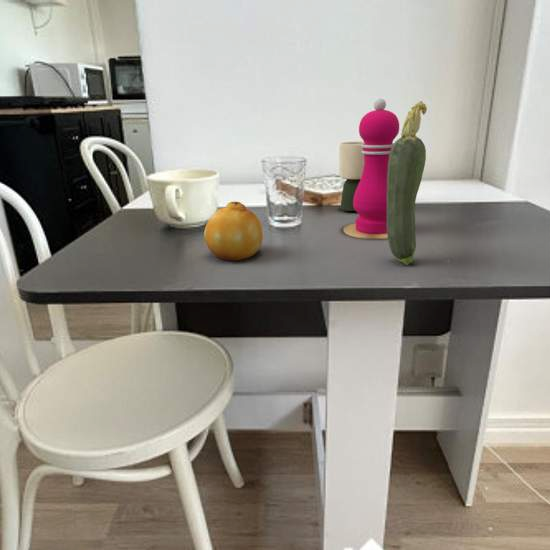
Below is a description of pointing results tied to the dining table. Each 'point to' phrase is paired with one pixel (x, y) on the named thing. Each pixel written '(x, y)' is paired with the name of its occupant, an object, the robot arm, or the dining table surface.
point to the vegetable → (405, 186)
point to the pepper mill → (375, 168)
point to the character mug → (350, 171)
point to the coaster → (353, 232)
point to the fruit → (233, 232)
